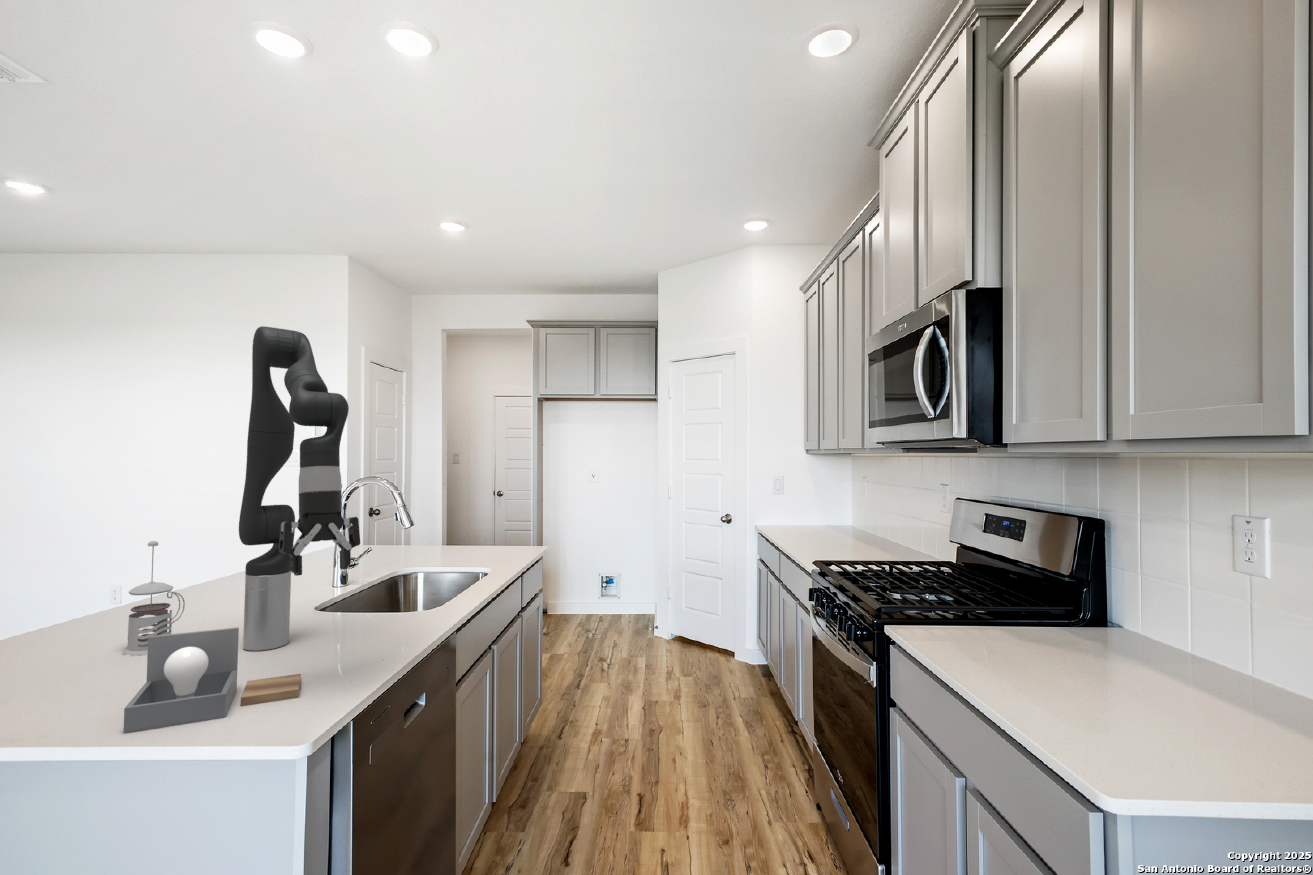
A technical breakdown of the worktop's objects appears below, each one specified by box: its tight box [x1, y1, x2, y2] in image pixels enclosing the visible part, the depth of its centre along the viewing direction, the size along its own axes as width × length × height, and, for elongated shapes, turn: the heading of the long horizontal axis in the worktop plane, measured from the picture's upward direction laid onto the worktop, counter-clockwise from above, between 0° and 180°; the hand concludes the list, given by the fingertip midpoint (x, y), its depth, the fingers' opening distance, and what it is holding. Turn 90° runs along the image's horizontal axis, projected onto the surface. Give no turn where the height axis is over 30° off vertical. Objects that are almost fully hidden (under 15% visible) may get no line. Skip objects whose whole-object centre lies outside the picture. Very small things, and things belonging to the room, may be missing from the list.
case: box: [122, 627, 240, 734], centre depth 107 cm, size 14×14×12 cm
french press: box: [121, 540, 186, 656], centre depth 141 cm, size 10×12×25 cm
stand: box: [239, 673, 302, 707], centre depth 115 cm, size 9×9×2 cm
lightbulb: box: [164, 647, 209, 699], centre depth 107 cm, size 6×6×11 cm
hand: (321, 572), depth 119 cm, fingers open, 8 cm apart
